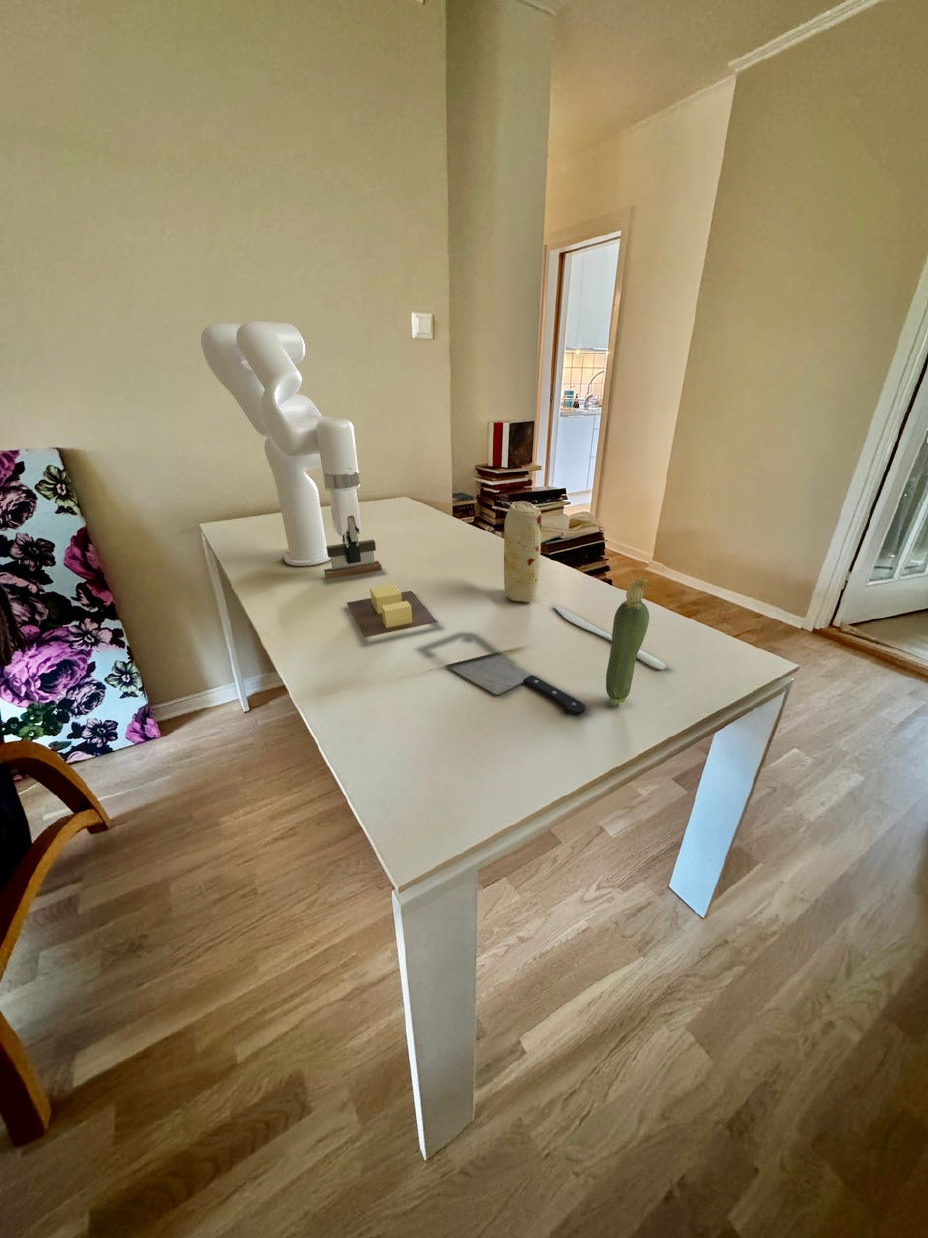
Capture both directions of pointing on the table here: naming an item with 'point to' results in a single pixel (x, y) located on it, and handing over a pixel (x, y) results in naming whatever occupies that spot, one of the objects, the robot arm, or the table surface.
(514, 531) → the food model
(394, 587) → the butter stick
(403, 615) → the butter pat
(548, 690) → the cleaver
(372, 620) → the board
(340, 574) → the holder
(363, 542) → the cutter
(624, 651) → the vegetable
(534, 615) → the table surface
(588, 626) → the butter knife
